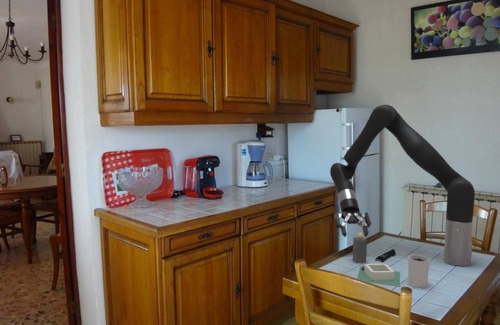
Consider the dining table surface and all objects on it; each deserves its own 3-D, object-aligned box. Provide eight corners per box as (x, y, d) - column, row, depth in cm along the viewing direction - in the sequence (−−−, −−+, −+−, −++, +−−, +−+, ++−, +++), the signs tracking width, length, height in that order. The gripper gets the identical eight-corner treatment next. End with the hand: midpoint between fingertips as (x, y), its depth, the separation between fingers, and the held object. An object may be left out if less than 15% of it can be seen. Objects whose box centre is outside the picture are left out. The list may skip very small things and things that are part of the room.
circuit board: (399, 274, 142) (400, 270, 142) (399, 289, 129) (399, 285, 129) (360, 269, 147) (360, 265, 147) (356, 283, 134) (356, 278, 134)
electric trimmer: (397, 256, 162) (398, 249, 162) (382, 265, 151) (382, 258, 151) (389, 254, 165) (389, 247, 164) (373, 263, 154) (373, 255, 153)
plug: (362, 261, 155) (363, 231, 154) (365, 265, 151) (367, 234, 150) (352, 261, 155) (353, 231, 153) (355, 265, 151) (356, 234, 149)
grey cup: (404, 282, 135) (405, 254, 134) (424, 283, 134) (425, 255, 133) (410, 290, 128) (411, 261, 127) (431, 291, 128) (432, 261, 127)
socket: (385, 271, 142) (385, 263, 142) (394, 280, 134) (395, 272, 134) (363, 271, 141) (364, 263, 141) (371, 280, 134) (372, 272, 133)
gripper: (333, 197, 164) (340, 231, 154) (367, 197, 165) (375, 231, 154) (330, 207, 170) (336, 240, 159) (362, 206, 170) (370, 240, 160)
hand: (355, 235), depth 157 cm, fingers open, 8 cm apart
